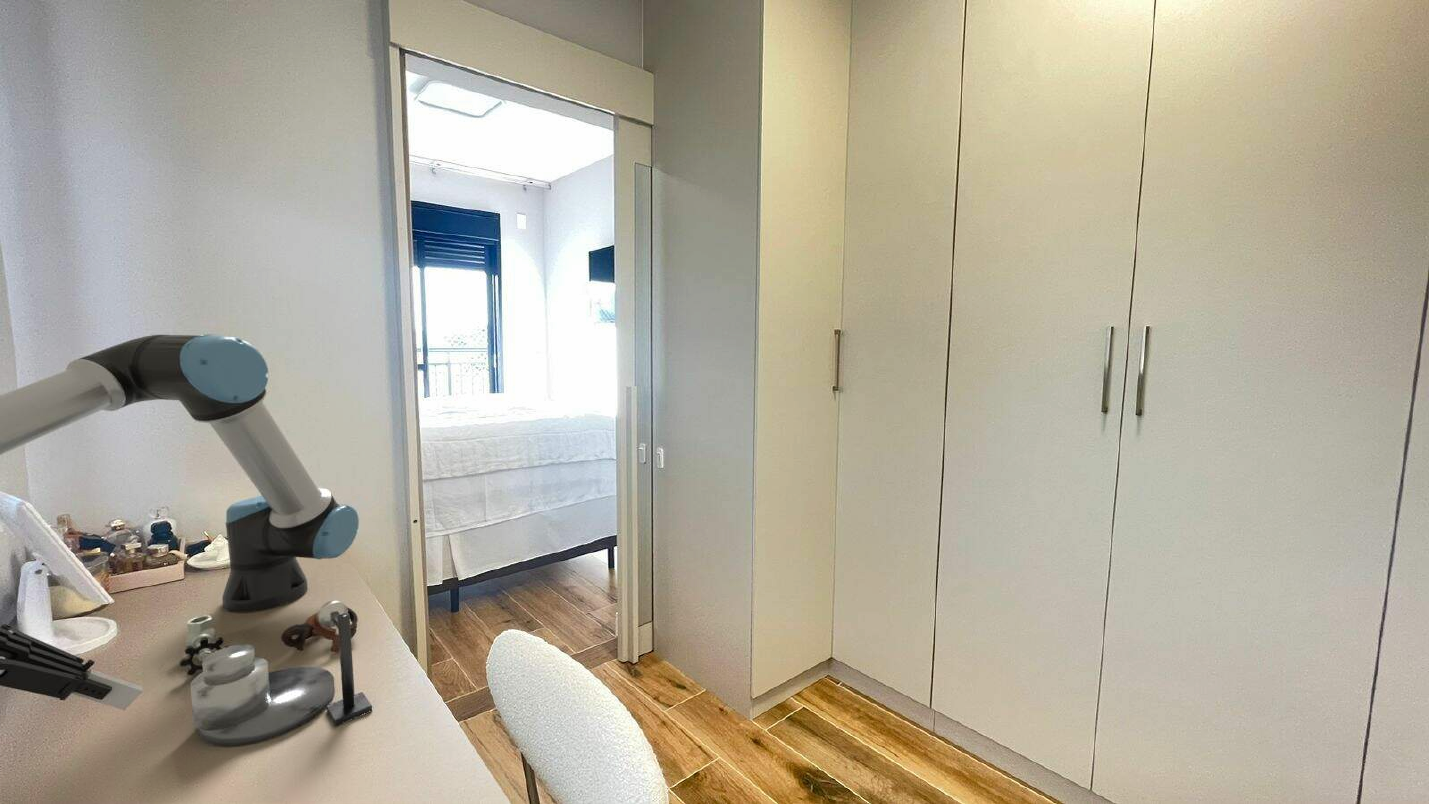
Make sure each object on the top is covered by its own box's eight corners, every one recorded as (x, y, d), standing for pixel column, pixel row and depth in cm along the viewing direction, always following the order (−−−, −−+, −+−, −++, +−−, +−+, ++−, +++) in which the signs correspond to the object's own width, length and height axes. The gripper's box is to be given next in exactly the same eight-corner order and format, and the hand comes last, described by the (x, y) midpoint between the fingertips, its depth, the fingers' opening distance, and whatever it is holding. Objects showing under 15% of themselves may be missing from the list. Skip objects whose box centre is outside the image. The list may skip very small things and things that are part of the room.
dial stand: (319, 698, 94) (313, 606, 92) (354, 685, 97) (348, 596, 96) (335, 726, 87) (328, 627, 85) (372, 711, 91) (366, 615, 89)
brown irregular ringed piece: (334, 629, 117) (352, 597, 116) (352, 664, 112) (370, 630, 111) (266, 640, 107) (284, 605, 105) (282, 679, 102) (301, 642, 101)
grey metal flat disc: (193, 709, 91) (192, 697, 90) (320, 666, 103) (319, 655, 103) (206, 765, 79) (205, 751, 79) (347, 708, 91) (347, 696, 91)
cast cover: (190, 710, 87) (185, 655, 86) (264, 685, 94) (260, 633, 93) (197, 739, 81) (191, 680, 80) (275, 710, 88) (271, 655, 87)
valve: (177, 655, 106) (181, 683, 98) (174, 621, 105) (178, 646, 97) (224, 642, 111) (231, 667, 102) (221, 609, 110) (228, 632, 102)
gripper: (-110, 635, 68) (107, 704, 82) (-142, 680, 59) (107, 749, 73) (-42, 579, 71) (155, 654, 85) (-63, 614, 63) (161, 692, 76)
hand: (133, 698), depth 79 cm, fingers closed
